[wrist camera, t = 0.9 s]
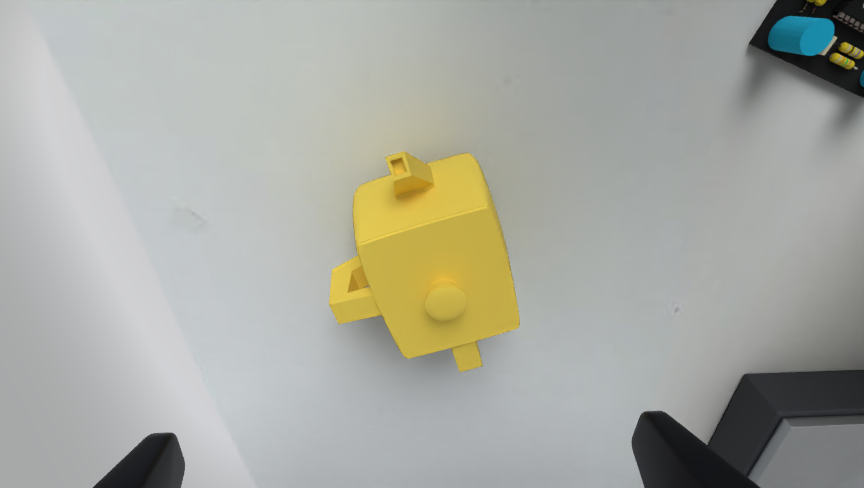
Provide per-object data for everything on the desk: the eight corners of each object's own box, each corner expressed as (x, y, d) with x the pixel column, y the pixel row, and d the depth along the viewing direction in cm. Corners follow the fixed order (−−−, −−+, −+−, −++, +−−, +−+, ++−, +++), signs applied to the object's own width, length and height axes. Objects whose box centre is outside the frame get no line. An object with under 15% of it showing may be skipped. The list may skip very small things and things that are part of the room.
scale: (811, 499, 30) (850, 549, 28) (675, 508, 30) (703, 560, 27) (909, 367, 25) (969, 415, 22) (744, 373, 24) (787, 423, 21)
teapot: (294, 143, 16) (260, 214, 12) (462, 90, 16) (493, 143, 11) (375, 320, 20) (373, 423, 16) (509, 282, 20) (546, 376, 15)
